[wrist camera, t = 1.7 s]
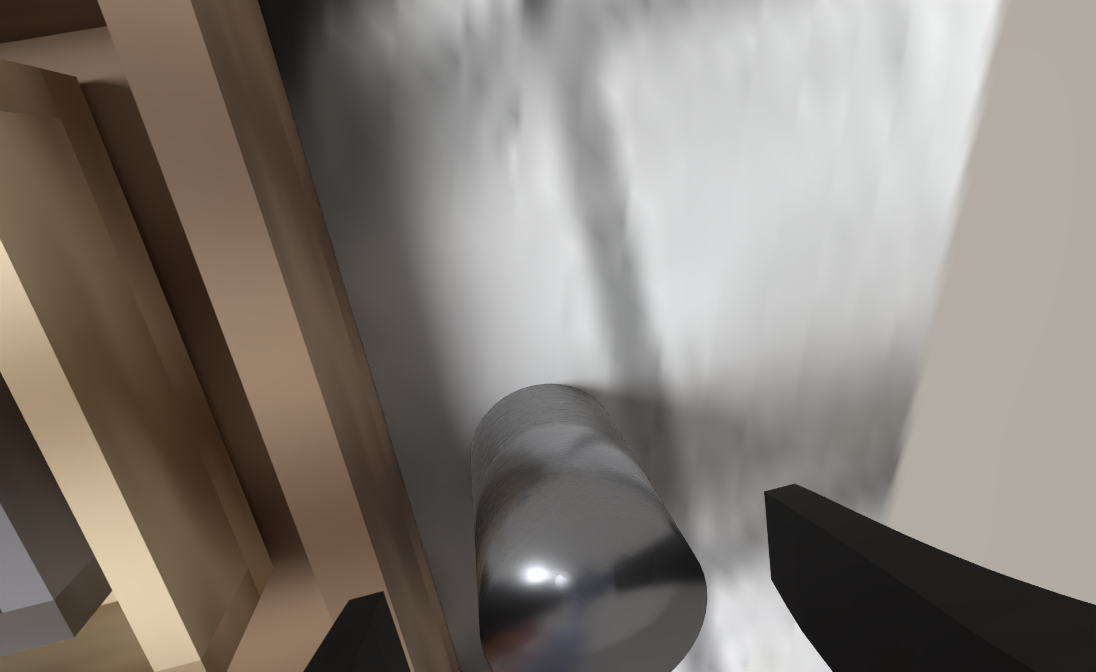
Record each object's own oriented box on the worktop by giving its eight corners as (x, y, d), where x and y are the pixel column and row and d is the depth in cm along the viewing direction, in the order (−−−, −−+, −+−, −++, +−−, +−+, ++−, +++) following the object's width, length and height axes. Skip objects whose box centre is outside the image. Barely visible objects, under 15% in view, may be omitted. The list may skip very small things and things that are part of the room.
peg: (626, 498, 16) (717, 674, 11) (488, 533, 16) (506, 734, 10) (605, 369, 15) (694, 489, 10) (454, 404, 15) (454, 551, 9)
